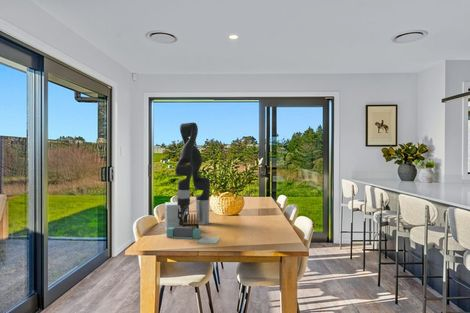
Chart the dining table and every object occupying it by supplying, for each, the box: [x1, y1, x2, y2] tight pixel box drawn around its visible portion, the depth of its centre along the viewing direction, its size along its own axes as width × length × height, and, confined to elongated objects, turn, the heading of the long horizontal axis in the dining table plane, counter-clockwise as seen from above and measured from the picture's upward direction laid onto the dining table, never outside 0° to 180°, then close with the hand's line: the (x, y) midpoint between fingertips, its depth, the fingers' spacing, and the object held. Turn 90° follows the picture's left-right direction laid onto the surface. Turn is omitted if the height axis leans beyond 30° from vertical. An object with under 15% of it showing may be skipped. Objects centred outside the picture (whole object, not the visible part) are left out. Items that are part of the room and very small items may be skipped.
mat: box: [196, 236, 221, 245], centre depth 189 cm, size 12×11×1 cm
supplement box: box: [164, 201, 182, 233], centre depth 218 cm, size 13×13×18 cm
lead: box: [174, 226, 194, 239], centre depth 197 cm, size 4×11×6 cm, turn 81°
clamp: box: [166, 227, 202, 240], centre depth 197 cm, size 8×20×5 cm, turn 81°
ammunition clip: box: [182, 212, 200, 229], centre depth 211 cm, size 11×2×12 cm, turn 96°
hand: (183, 224), depth 197 cm, fingers open, 8 cm apart
